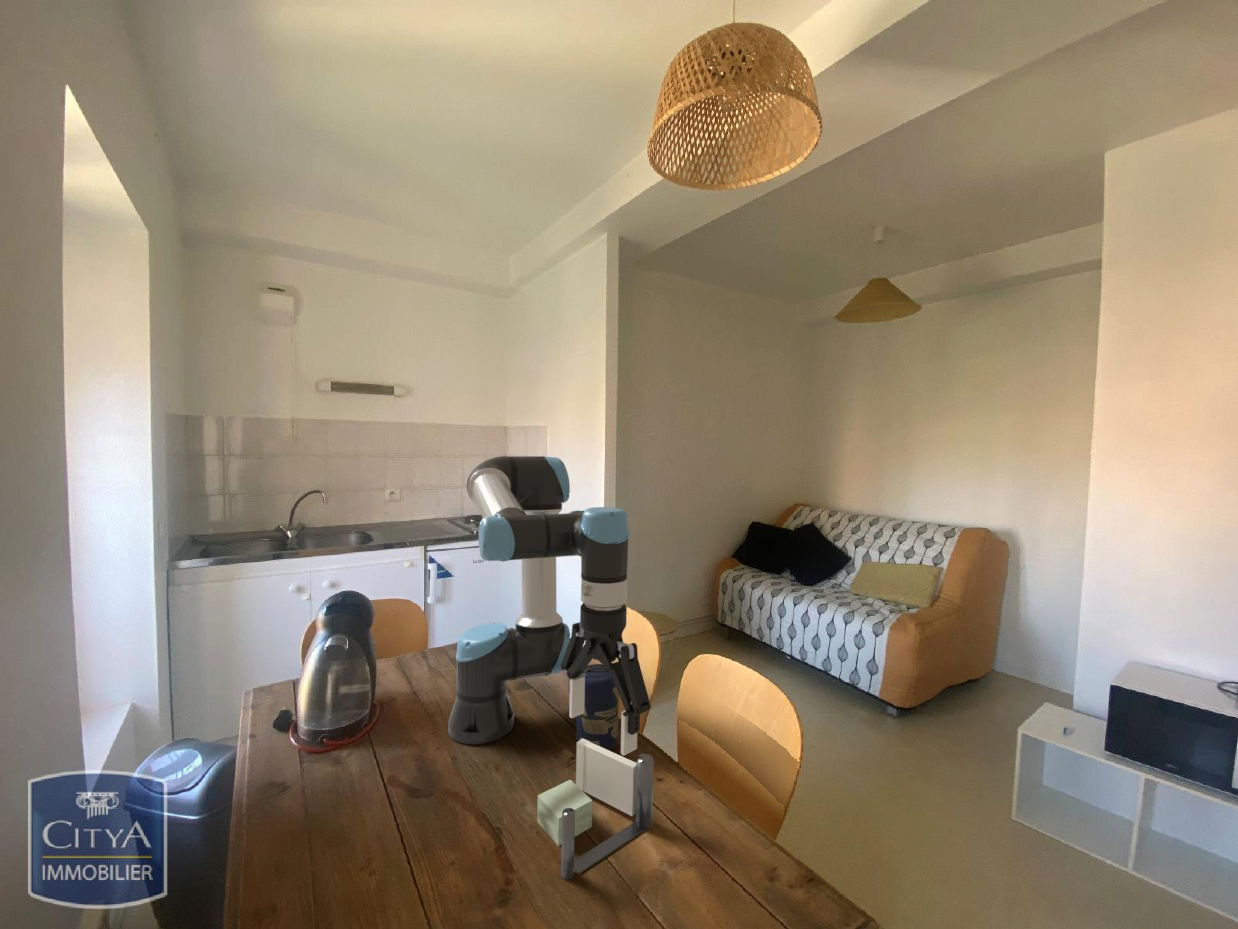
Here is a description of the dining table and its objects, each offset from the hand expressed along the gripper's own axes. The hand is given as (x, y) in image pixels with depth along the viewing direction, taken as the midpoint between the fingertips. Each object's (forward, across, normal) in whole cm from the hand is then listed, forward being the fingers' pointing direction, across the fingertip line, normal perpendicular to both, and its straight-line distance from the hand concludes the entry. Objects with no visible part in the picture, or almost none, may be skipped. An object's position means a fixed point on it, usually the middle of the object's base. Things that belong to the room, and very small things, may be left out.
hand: (601, 732), depth 82 cm
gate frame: (+21, 0, +2) cm, 21 cm away
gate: (+20, -8, +8) cm, 23 cm away
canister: (+21, -24, +19) cm, 37 cm away
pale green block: (+21, -9, 0) cm, 23 cm away
